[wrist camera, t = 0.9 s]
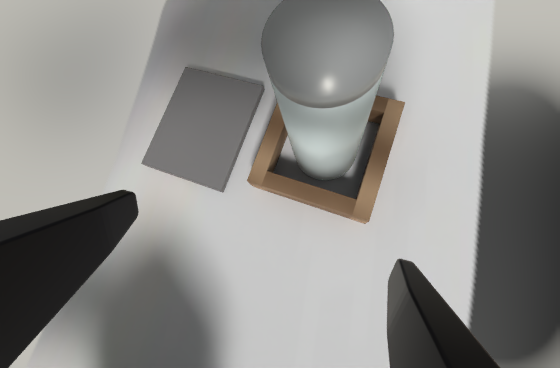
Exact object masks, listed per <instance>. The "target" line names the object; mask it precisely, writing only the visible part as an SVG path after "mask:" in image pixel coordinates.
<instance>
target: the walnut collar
mask: <svg viewBox="0 0 560 368" xmlns="http://www.w3.org/2000/svg"><path fill="white" fill-rule="evenodd" d="M404 104H405V102H402V101H397V100H393V99H389V98H384V97H380V96H376V97H375V100H374V103H373V106H372V109H371V112H370V115H369V118H368V121H370V122H374V123H378V124H379V127H378V130H377V134H376V137H375V140H374V143H373V146H372V149H371V153H370V156H369V159H368V162H367V165H366V168H365V172H364V175H363V178H362V181H361V184H360V187H359V191H358V194H357V197H356V199H354V198H350V197H347V196H344V195H341V194H338V193H335V192H331V191H328V190H325V189H322V188H319V187H316V186H313V185H309V184H306V183H303V182H300V181H297V180H294V179H290V178H287V177H284V176H281V175H278V174H275V173H273V172H274V169H275V167H276V164H277V161H278V159H279V156H280V153H281V151H282V148H283V145H284V143H285V140H286V137H287V135H288V133H287V130H286V127H285V124H284V121H283V118H282V114H281V111H280V108H279V105H278V102H277V105H276V107H275V110H274V112H273V115H272V117H271V120H270V123H269V125H268V128H267V130H266V133H265V136H264V138H263V141H262V143H261V146H260V148H259V151H258V154H257V156H256V159H255V161H254V164H253V166H252V169H251V172H250V174H249V177H248V179H247V181H248V182H249V183H250V184H251V185H252V186H253V187H256V188H259V189H262V190H265V191H268V192H271V193H274V194H277V195H280V196H283V197H286V198H289V199H292V200H295V201H298V202H301V203H304V204H307V205H310V206H313V207H316V208H319V209H322V210H325V211H328V212H331V213H334V214H337V215H340V216H343V217H346V218H349V219H352V220H355V221H358V222H361V223H364V224H366V223H367V222H369V220H370V217H371V213H372V210H373V207H374V203H375V200H376V197H377V193H378V190H379V187H380V183H381V180H382V177H383V174H384V170H385V167H386V164H387V160H388V157H389V154H390V150H391V147H392V144H393V141H394V137H395V134H396V131H397V127H398V124H399V121H400V117H401V114H402V111H403V108H404Z"/></svg>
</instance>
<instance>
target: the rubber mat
mask: <svg viewBox="0 0 560 368" xmlns="http://www.w3.org/2000/svg"><path fill="white" fill-rule="evenodd" d="M263 92H264V87H263V86H262V85H257V84H253V83H249V82H245V81H241V80H237V79H233V78H229V77H225V76H221V75H217V74H213V73H209V72H204V71H200V70H196V69H192V68H188V67H185V69H184V72H183V74H182V76H181V78H180V80H179V82H178V85H177V87H176V89H175V91H174V93H173V96H172V98H171V100H170V102H169V104H168V106H167V109H166V111H165V113H164V115H163V117H162V119H161V122H160V124H159V126H158V128H157V130H156V133H155V135H154V137H153V139H152V141H151V143H150V146H149V148H148V150H147V152H146V154H145V156H144V159H143V161H142V163H141V164H143V165H146V166H148V167H151V168H154V169H157V170H160V171H163V172H166V173H169V174H171V175H174V176H177V177H180V178H183V179H186V180H189V181H192V182H194V183H197V184H200V185H203V186H206V187H209V188H212V189H215V190H217V191H220V192H224V189H225V187H226V184H227V182H228V179H229V177H230V174H231V172H232V169H233V167H234V164H235V162H236V159H237V157H238V154H239V152H240V149H241V147H242V144H243V142H244V139H245V137H246V134H247V132H248V129H249V127H250V124H251V122H252V119H253V117H254V114H255V112H256V109H257V107H258V104H259V102H260V99H261V97H262V94H263Z"/></svg>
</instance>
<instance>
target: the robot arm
mask: <svg viewBox="0 0 560 368" xmlns="http://www.w3.org/2000/svg"><path fill="white" fill-rule="evenodd" d="M137 216H138V206H137V200H136V195H135V194H134V193H133V192H130V191H126V190H119V191H115V192H112V193H108V194H104V195H100V196H96V197H92V198H88V199H84V200H80V201H76V202H72V203H68V204H64V205H60V206H56V207H53V208H48V209H45V210H41V211H37V212H32V213H28V214H25V215H21V216H17V217H13V218H9V219H5V220H1V221H0V368H9V366H10V365H11V364H12V363H13V362H14V361H15V360H16V359H17V357H18V356H19V355H20V354H21V353H22V352H23V351H24V350H25V348H26V347H27V346H28V345H29V344H30V343H31V342H32V340H33V339H34V338H35V337H36V336H37V335H38V334H39V333H40V332H41V331H42V329H43V328H44V327H45V326H46V325H47V324H48V323H49V322H50V321H51V319H52V318H53V317H54V316H55V315H56V314H57V313H58V312H59V310H60V309H61V308H62V307H63V306H64V305H65V304H66V303H67V302H68V300H69V299H70V298H71V297H72V296H73V295H74V294H75V293H76V291H77V290H78V289H79V288H80V287H81V286H82V285H83V284H84V282H85V281H86V280H87V279H88V278H89V277H90V276H91V275H92V274H93V272H94V271H95V270H96V269H97V268H98V267H99V266H100V265H101V263H102V262H103V261H104V260H105V259H106V258H107V257H108V256H109V254H110V253H111V252H112V251H113V249H114V248H115V247H116V245H117V244H118V243H119V241H120V240H121V239H122V237H123V236H124V235H125V233H126V232H127V230H128V229H129V228H130V226H131V225H132V224H133V222H134V221H135V220H136V218H137ZM387 340H388V351H389V361H390V368H500V367H499V365H498V364H497V363H496V362H495V361H494V359H493V358H492V357H491V356H490V355H489V353H488V352H487V351H486V350H485V349H484V347H483V346H482V345H481V344H480V343H479V341H478V340H477V339H476V338H475V337H474V335H473V334H472V333H471V332H470V330H469V329H468V328H467V327H466V326H465V324H464V323H463V322H462V321H461V320H460V318H459V317H458V316H457V315H456V314H455V312H454V311H453V310H452V309H451V307H450V306H449V305H448V304H447V303H446V301H445V300H444V299H443V298H442V297H441V295H440V294H439V293H438V292H437V291H436V289H435V288H434V287H433V286H432V285H431V283H430V282H429V281H428V280H427V279H426V277H425V276H424V275H423V274H422V272H421V271H420V270H419V269H418V268H417V266H416V265H415V264H414V263H413V262H411V261H407V260H403V259H398V260H397V261H396V263H395V265H394V268H393V270H392V272H391V274H390V277H389V280H388V302H387Z"/></svg>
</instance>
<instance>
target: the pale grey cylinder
mask: <svg viewBox="0 0 560 368" xmlns="http://www.w3.org/2000/svg"><path fill="white" fill-rule="evenodd" d="M393 37H394V30H393V23H392V19H391V17H390V14H389V12H388V10H387V9H386V7H385V6H384V4H383V3H382V2H381V1H380V0H283V1H282V2H281V3H280V4H279V5H278V6H277V7H276V8H275V10H274V11H273V12H272V14H271V15H270V17H269V18H268V20H267V22H266V24H265V27H264V30H263V34H262V42H261V47H262V54H263V58H264V61H265V64H266V68H267V71H268V74H269V77H270V80H271V83H272V86H273V89H274V93H275V96H276V99H277V102H278V105H279V108H280V111H281V114H282V118H283V121H284V124H285V127H286V130H287V133H288V136H289V139H290V142H291V146H292V149H293V152H294V155H295V158H296V161H297V164H298V165H299V167H300V169H301V170H302V171H303V172H304V173H305V174H307V175H308V176H310V177H312V178H314V179H318V180H332V179H336V178H338V177H340V176H342V175H344V174H345V173H346V172H347V171H348V170H349V169H350V168H351V166H352V165H353V163H354V160H355V158H356V155H357V152H358V148H359V145H360V142H361V139H362V136H363V133H364V130H365V127H366V124H367V121H368V118H369V115H370V112H371V109H372V106H373V103H374V100H375V97H376V94H377V91H378V88H379V85H380V82H381V79H382V76H383V73H384V69H385V66H386V63H387V60H388V57H389V54H390V51H391V48H392V44H393Z"/></svg>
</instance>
